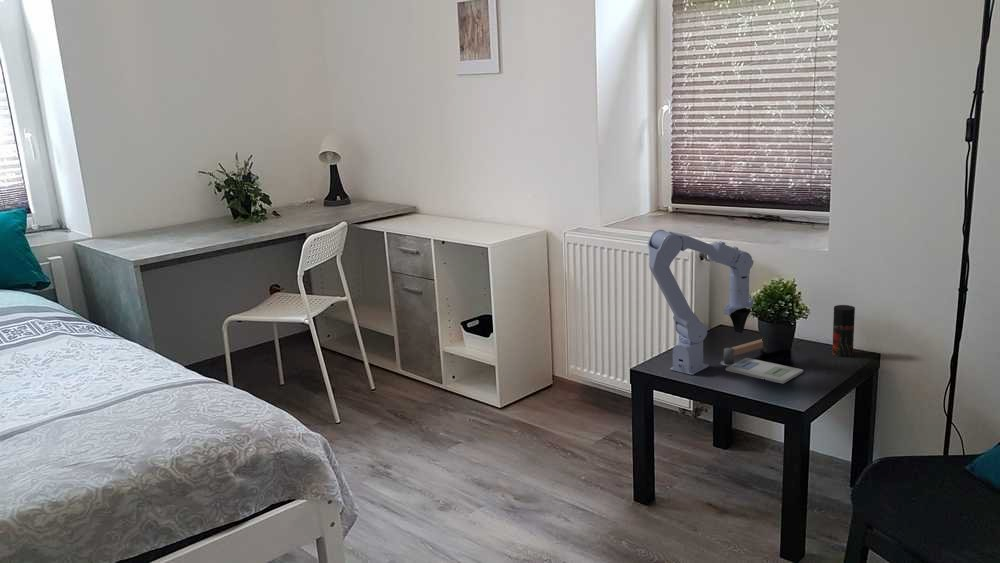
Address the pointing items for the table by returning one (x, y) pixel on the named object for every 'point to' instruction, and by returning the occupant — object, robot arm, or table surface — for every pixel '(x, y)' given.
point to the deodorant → (843, 330)
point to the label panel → (763, 370)
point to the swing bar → (741, 350)
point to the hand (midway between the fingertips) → (738, 331)
